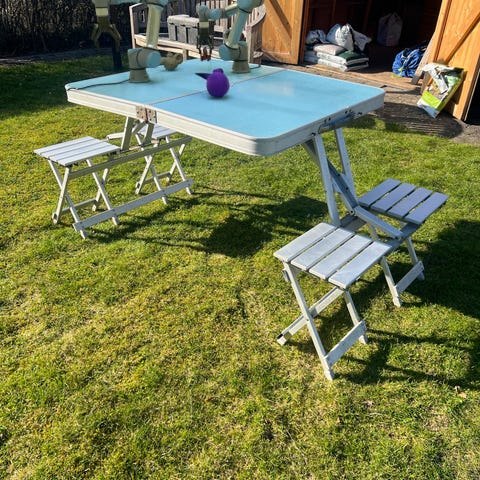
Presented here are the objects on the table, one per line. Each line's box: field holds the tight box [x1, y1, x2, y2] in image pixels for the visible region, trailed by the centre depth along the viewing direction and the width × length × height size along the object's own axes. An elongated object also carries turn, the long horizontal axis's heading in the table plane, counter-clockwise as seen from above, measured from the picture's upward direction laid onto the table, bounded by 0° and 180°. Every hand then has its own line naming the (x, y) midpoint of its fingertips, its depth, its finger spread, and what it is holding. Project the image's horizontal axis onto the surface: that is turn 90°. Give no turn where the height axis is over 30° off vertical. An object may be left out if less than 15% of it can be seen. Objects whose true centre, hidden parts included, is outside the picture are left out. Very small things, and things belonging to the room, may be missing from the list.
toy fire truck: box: [200, 46, 212, 62], centre depth 365 cm, size 7×12×10 cm, turn 172°
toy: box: [195, 67, 230, 99], centre depth 289 cm, size 16×18×27 cm
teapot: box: [160, 50, 184, 71], centre depth 373 cm, size 21×12×15 cm, turn 120°
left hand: (108, 51), depth 295 cm, fingers open, 13 cm apart
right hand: (205, 58), depth 367 cm, fingers closed on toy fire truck, 7 cm apart
